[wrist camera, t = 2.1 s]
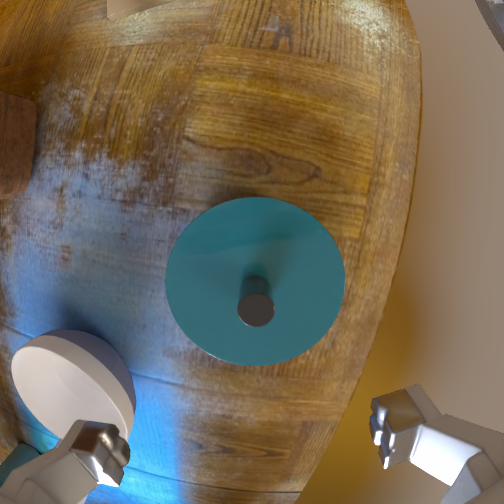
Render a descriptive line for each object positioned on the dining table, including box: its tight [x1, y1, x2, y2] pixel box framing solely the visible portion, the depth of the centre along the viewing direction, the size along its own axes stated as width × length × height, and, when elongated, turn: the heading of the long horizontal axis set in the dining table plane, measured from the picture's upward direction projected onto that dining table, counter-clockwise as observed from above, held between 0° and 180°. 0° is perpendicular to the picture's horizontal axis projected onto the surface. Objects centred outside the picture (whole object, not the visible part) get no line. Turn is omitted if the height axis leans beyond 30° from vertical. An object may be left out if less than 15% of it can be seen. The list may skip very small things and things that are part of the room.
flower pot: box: [0, 443, 40, 488], centre depth 33 cm, size 16×16×16 cm
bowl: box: [11, 330, 136, 442], centre depth 28 cm, size 16×16×10 cm
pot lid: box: [165, 197, 345, 366], centre depth 20 cm, size 14×14×5 cm
